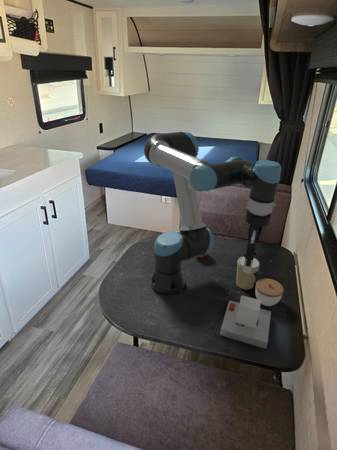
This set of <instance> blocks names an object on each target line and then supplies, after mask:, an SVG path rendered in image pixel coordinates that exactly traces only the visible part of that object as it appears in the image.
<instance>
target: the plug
mask: <svg viewBox="0 0 337 450" xmlns="http://www.w3.org/2000/svg"><path fill="white" fill-rule="evenodd" d="M238 303H239V308H238V314H237V319H236V323H238V325H240V326H242V325H246V326H249V327H253V328H256V324H257V320H258V315H259V310H260V309H261V305H262V304H261V300H258V299H257V298H253V297H250V296H246V295H240V300H239V302H238Z"/></svg>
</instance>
